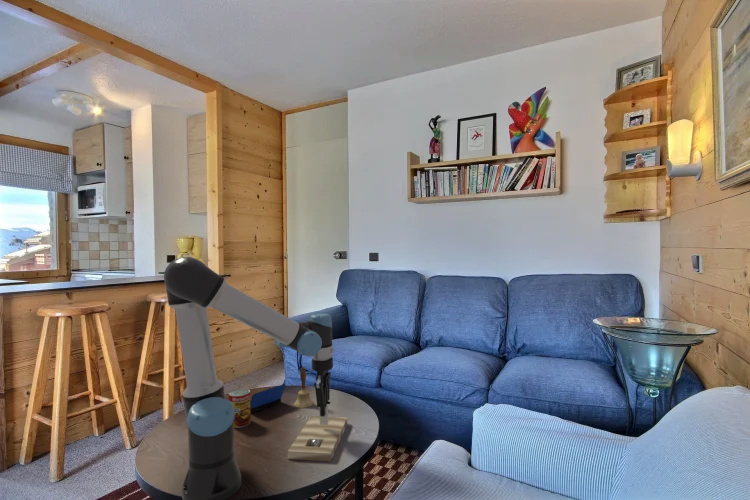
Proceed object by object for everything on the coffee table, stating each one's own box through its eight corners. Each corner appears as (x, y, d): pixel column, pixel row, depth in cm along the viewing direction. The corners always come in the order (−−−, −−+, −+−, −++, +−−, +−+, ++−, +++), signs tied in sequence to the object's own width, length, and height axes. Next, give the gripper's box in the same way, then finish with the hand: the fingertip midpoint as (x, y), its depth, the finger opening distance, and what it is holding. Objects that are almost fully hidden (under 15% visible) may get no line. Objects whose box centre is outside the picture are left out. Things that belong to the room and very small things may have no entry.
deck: (330, 461, 120) (330, 453, 120) (287, 459, 121) (287, 451, 121) (347, 424, 145) (347, 417, 145) (311, 422, 147) (311, 416, 147)
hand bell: (314, 406, 162) (313, 369, 162) (294, 409, 160) (293, 371, 160) (312, 399, 170) (311, 363, 170) (293, 401, 168) (292, 365, 168)
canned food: (235, 429, 142) (235, 397, 142) (225, 423, 147) (224, 392, 147) (254, 422, 148) (254, 391, 148) (243, 417, 153) (243, 386, 153)
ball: (321, 443, 129) (319, 451, 127) (312, 442, 130) (310, 451, 127) (320, 436, 128) (318, 445, 125) (311, 436, 128) (309, 445, 125)
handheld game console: (270, 397, 174) (269, 377, 174) (286, 405, 165) (286, 383, 165) (237, 408, 163) (237, 386, 163) (253, 417, 154) (253, 394, 154)
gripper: (327, 363, 130) (329, 433, 130) (336, 352, 142) (338, 416, 143) (306, 363, 131) (308, 432, 131) (317, 352, 144) (319, 415, 144)
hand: (324, 423), depth 137 cm, fingers closed
